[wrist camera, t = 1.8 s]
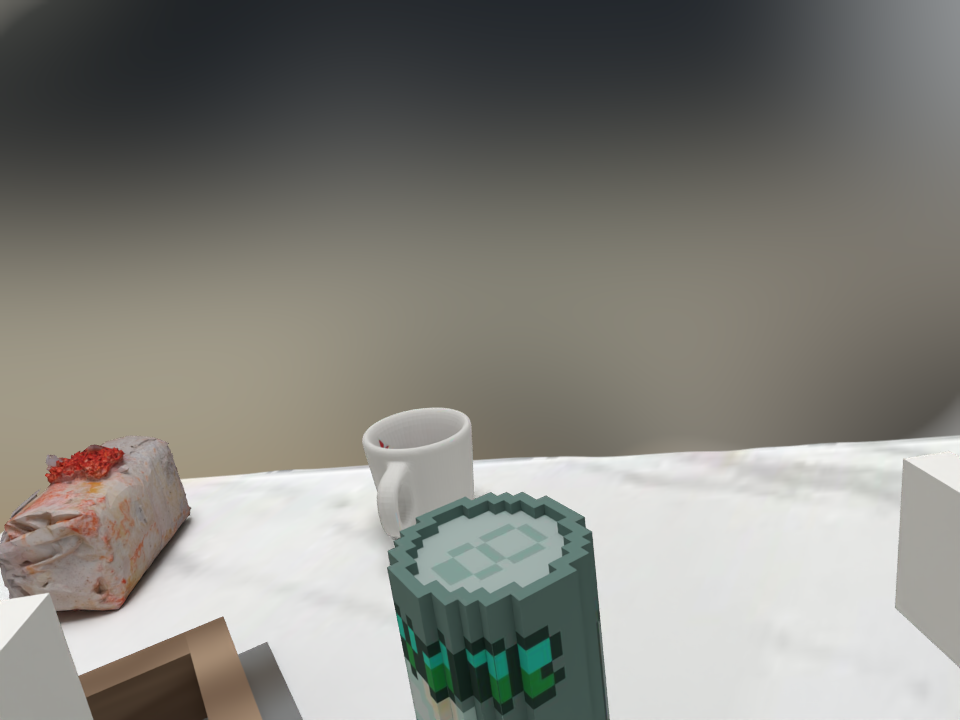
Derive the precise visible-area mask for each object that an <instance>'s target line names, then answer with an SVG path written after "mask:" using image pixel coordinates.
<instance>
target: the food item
mask: <svg viewBox="0 0 960 720" xmlns="http://www.w3.org/2000/svg"><path fill="white" fill-rule="evenodd" d="M168 444H169V443H167V442H165V441H162V440H160V439H157V438H153V437H145V436H126V437H121V438H117V439H113V440H110V441H106V442H105V443H103V444H102V445H101V446H99V445H91V446H89V447H88V448H86V449H85V450H84V451H83V452H81V453H80V451H79V452H77V453H76V454H74V456H73V455H71V459H67V458H57V457H56V456H55V455H47V459H46V463H47V465H48V468H49V469H48V468H47V470H48V471H49V472H50V473H51V474H46V475H45V476H46V477H47V478H48V481H49V482H50V483H51V484H50V485H49V487H48V488H47V489H46V490H45V491H44V492H42V493H41V494H40V495H38V496H37V493H38V492H39V490H38V491H36V492H35V493H34V494H33V495H32V496H31V497H30V498H28V499H27V500H26V501H25V502H23V503H22V504H21V505H20V506H19V507H18V508H17V509H16V510H15V511H14V512H13V513H12V516H11V518H10V520H9V521H8V522H7V523H6V524H5V531H4V532H3V534H2V538H1V541H0V568H1V574H2V577H3V581H4V584H5V586H6V587H7V588H8V590H9V598H10V599H13V598H19V597H26V596H32V595H38V594H45V593H50V596H51V599H52V602H53V605H54V608H55V610H56V611H62V610H72V611H77V610H80V611H81V610H85V611H88V610H113V609H119V608H120V607H121V606H122V605H123V604H124V602H125V600H126V599H127V597H128V595H129V594H130V593H131V591H132V590H133V588H134V587H135V586H136V584H137V583H138V581H139V580H140V579H141V577H142V576H143V574H144V572H145V571H146V570H147V569H148V568H149V567H150V565H151V564H152V562H153V561H154V559H155V558H156V557H157V555H158V554H159V553H160V552H161V550H162V549H163V548H164V547H165V546H166V544H167V543H168V542H169V541H170V539H171V538H172V537H173V535H174V534H175V533H176V531H177V529H178V528H179V527H180V525H181V524H182V523H183V522H184V521H185V520H186V519H187V517H188V516H189V515H190V509H191V507H189V506H188V503H187V499H186V494H185V492H184V488H183V485H182V483H181V481H180V477H179V475H178V471H177V468H176V466H175V463H174V460H173V455H172V453H171V451H170V449H169V447H168ZM50 456H51V458H50ZM51 467H52V468H51Z"/></svg>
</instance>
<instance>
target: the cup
mask: <svg viewBox="0 0 960 720" xmlns="http://www.w3.org/2000/svg"><path fill="white" fill-rule="evenodd" d="M362 443H363V447H364V450H365V454H366V457H367V460H368V464H369V467H370V470H371V473H372V476H373V480H374V483H375V486H376V489H377V506H378V513H379V517H380V521H381V524H382V526H383V529H384V530H385V532H386V533H387V534H388V535H389V536H391V537H395V538H400V532H399V531H401V530H404V529H406V528H408V527H411V526H413V525H415V524H416V517H418V516H421V515H423V514H425V513H428V512H430V511H432V510H435V509H437V508H439V507H442V506H444V505H447V504H449V503H451V502H454V501H456V500H458V499H461V498H463V497H467V498H469V499H470V500H474V480H473V455H472V428H471V422H470V420H469V418H468V417H467V416H466V415H465V414H464V413H462V412H460V411H457V410H453V409H447V408H424V409H416V410H410V411H405V412H402V413H398V414H395V415H392V416H389V417H386V418H384V419H382V420H380V421H378V422H377V423H375V424H373V425H372V426H371V427H370V428H368V429H367V431H366V432H365V433H364V436H363V439H362Z"/></svg>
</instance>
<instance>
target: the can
mask: <svg viewBox="0 0 960 720" xmlns="http://www.w3.org/2000/svg"><path fill="white" fill-rule="evenodd" d="M399 532H400V537H401V538H399V539H397V540H395V541H394V545H395V548H393V549H391V550H389V551H388V555H389V560H390V565H391V566H389V567H387V569H388V574H389V580H390V585H391V590H392V595H393V600H394V605H395V610H396V616H397V621H398V626H399V631H400V636H401V641H402V646H403V652H404V657H405V662H406V667H407V672H408V677H409V682H410V688H411V693H412V698H413V703H414V708H415V713H416V718H417V720H610V719H609V708H608V698H607V687H606V676H605V666H604V655H603V644H602V633H601V623H600V612H599V601H598V591H597V580H596V569H595V559H594V548H593V537H592V531H590V530H588V529H586V526H585V517H584V516H582V515H580V514H578V513H576V512H575V511H573V510H571V509H569V508H567V507H566V506H564V505H562V504H560V503H558V502H557V501H555V500H553V499H551V498H549V497H548V496H544V497H542V498H539V499H537V500H536V499H534V498H533V497H531V496H529V495H527V494H526V493H524V492H521V493H519V494H516V495H514V496H513V495H511V494H509V493H507V492H506V493H503V494H501V495H499V496H496V495H495V494H493V493H491V492H490V493H488V494H485V495H483V496H481V497H478V498H476V499H474V500H470V499H469V498H467V497H463V498H461V499H458V500H456V501H454V502H451V503H449V504H447V505H444V506H442V507H439V508H437V509H435V510H432V511H430V512H428V513H425V514H423V515H421V516H418V517H416V524H415V525H413V526H411V527H408V528H406V529H404V530H401V531H399Z"/></svg>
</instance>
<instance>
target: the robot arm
mask: <svg viewBox="0 0 960 720" xmlns="http://www.w3.org/2000/svg"><path fill="white" fill-rule="evenodd" d="M895 608H896V609H897V610H898V611H899V612H900V613H901V614H902V615H903V616H904V617H906V618H907V619H908V620H909V621H910V622H911V623H912V624H913V625H914V626H915V627H916V628H917V629H918V630H920V631H921V632H922V633H923V634H924V635H925V636H926V637H927V638H928V639H929V640H930V641H931V642H932V643H934V644H935V645H936V646H937V647H938V648H939V649H940V650H941V651H942V652H943V653H944V654H945V655H946V656H948V657H949V658H950V659H951V660H952V661H953V662H954V663H955V664H956V665H957V666H958V667H959V668H960V456H958V455H956V454H954V453H952V452H950V451H948V452H942V453H935V454H929V455H923V456H916V457H910V458H903V474H902V492H901V510H900V528H899V545H898V563H897V581H896V599H895ZM0 720H93V717H92V714H91V711H90V708H89V705H88V703H87V700H86V697H85V694H84V691H83V688H82V685H81V682H80V680H79V677H78V674H77V671H76V668H75V665H74V662H73V659H72V657H71V654H70V651H69V648H68V645H67V642H66V639H65V636H64V633H63V631H62V628H61V625H60V622H59V619H58V616H57V613H56V610H55V608H54V605H53V602H52V599H51V596H50V593H45V594H38V595H32V596H26V597H19V598H13V599H7V600H0Z"/></svg>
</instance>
